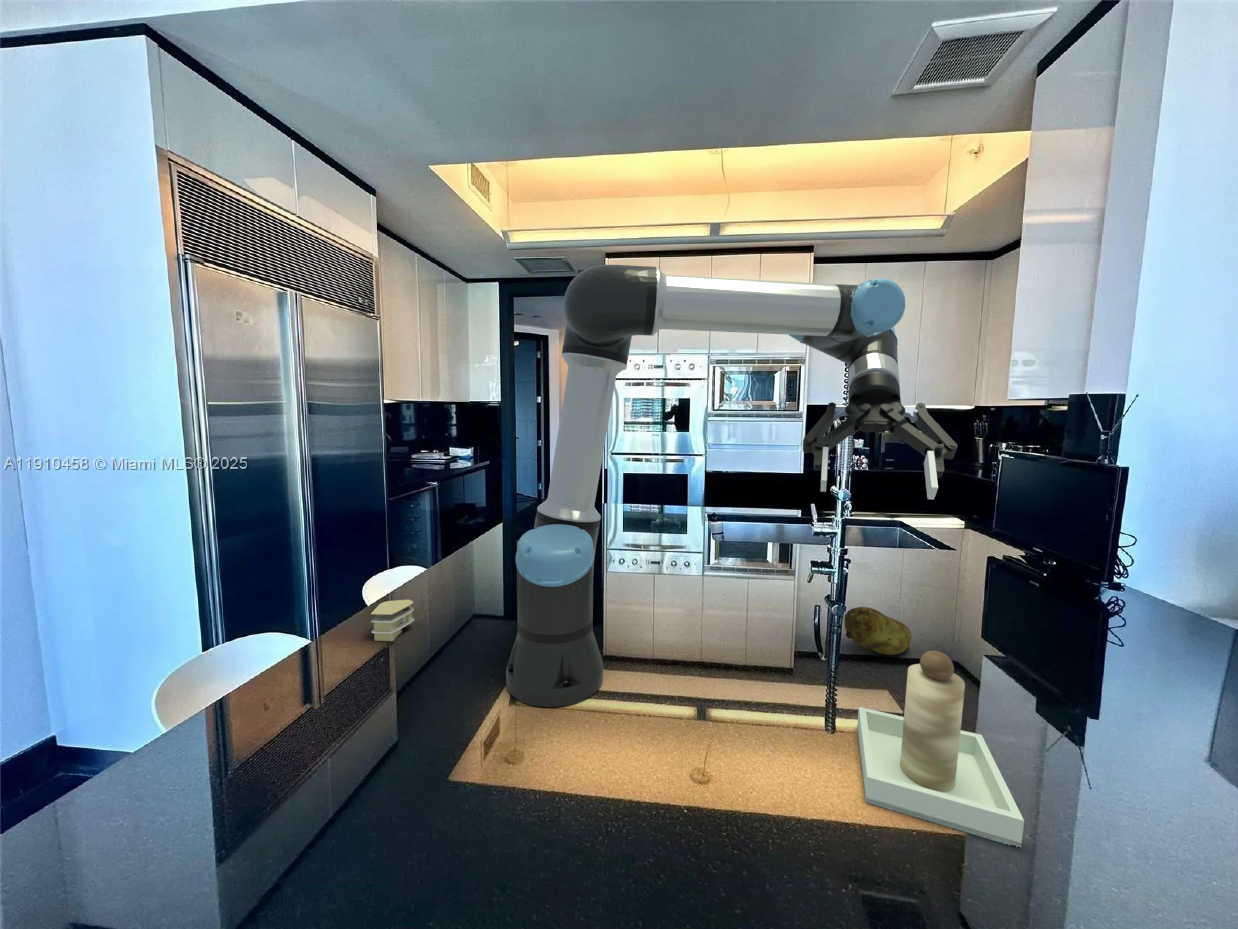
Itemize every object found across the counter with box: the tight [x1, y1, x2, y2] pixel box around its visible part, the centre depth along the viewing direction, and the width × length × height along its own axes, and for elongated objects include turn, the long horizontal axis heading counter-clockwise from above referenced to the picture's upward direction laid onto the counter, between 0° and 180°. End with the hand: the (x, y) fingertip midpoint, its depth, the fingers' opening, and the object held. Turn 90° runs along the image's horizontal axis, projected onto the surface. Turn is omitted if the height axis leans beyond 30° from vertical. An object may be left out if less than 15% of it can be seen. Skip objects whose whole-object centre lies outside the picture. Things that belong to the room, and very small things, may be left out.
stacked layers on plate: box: [370, 599, 415, 642], centre depth 89 cm, size 10×9×6 cm
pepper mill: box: [900, 650, 966, 792], centre depth 54 cm, size 5×5×15 cm
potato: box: [843, 606, 912, 656], centre depth 85 cm, size 8×13×8 cm, turn 88°
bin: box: [856, 706, 1025, 849], centre depth 55 cm, size 14×14×3 cm
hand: (875, 489), depth 67 cm, fingers open, 13 cm apart
